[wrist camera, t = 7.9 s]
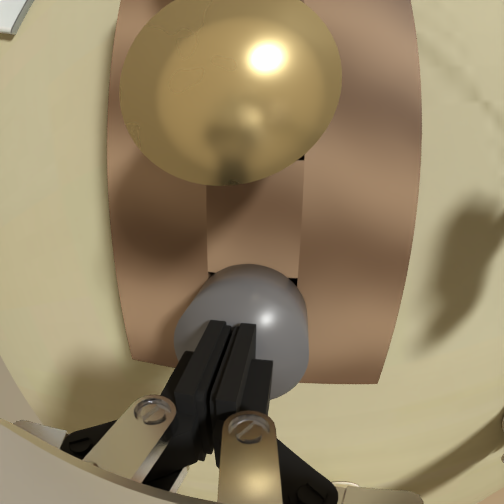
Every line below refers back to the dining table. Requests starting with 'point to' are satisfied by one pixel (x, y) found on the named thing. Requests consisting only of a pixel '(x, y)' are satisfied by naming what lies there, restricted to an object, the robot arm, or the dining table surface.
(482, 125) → the dining table surface
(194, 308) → the knob
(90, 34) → the dining table surface
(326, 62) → the knob middle
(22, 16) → the hard drive
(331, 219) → the knob panel
